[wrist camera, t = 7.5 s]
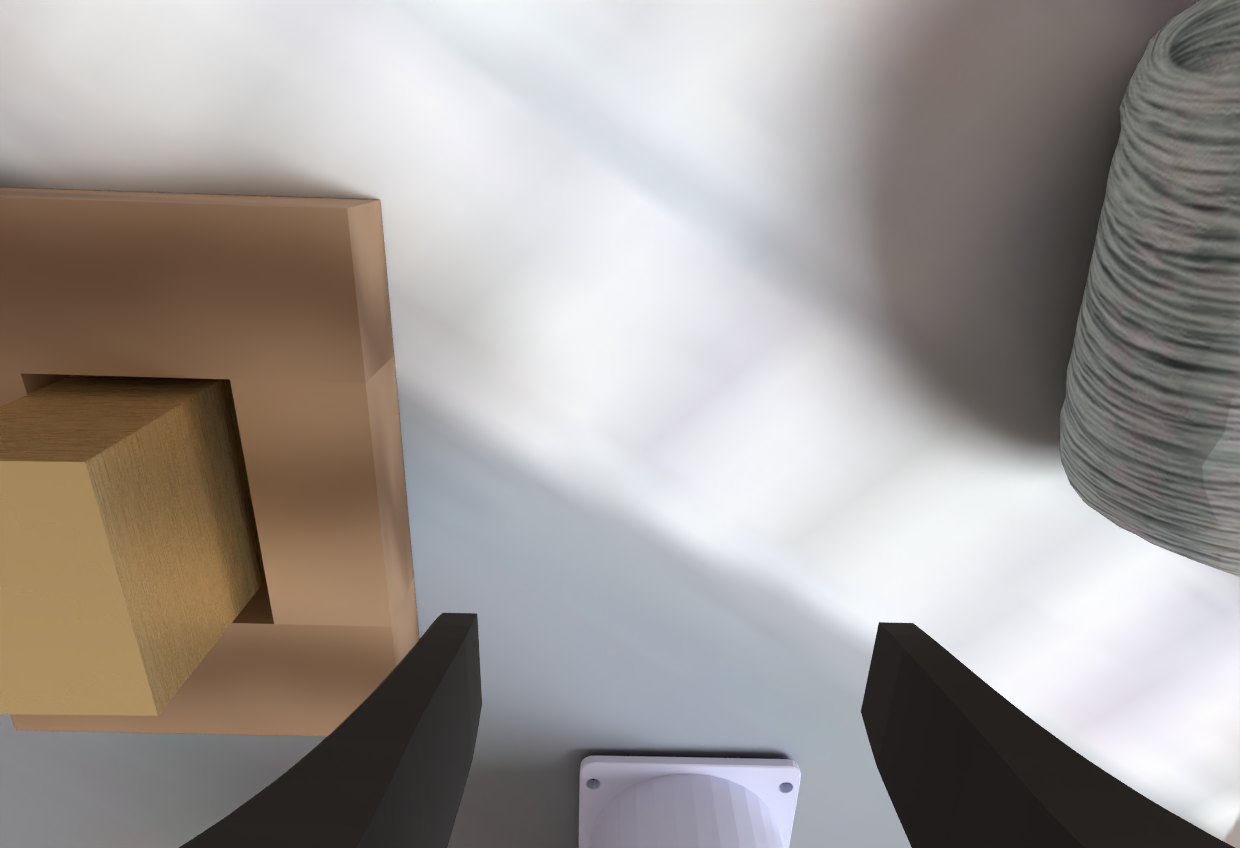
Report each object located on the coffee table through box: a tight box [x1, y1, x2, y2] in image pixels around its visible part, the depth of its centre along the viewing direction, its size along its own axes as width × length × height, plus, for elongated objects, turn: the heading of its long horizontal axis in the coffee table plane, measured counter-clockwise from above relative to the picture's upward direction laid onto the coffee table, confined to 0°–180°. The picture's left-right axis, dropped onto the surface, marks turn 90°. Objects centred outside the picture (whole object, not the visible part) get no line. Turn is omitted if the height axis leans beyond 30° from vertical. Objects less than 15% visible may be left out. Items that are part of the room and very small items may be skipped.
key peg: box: [0, 375, 266, 716], centre depth 18 cm, size 4×6×7 cm, turn 179°
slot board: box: [0, 187, 419, 736], centre depth 20 cm, size 16×12×2 cm
